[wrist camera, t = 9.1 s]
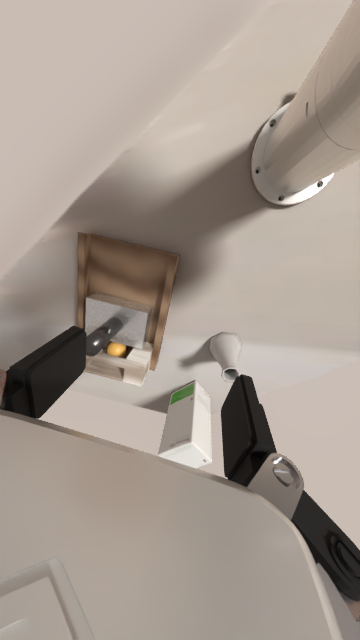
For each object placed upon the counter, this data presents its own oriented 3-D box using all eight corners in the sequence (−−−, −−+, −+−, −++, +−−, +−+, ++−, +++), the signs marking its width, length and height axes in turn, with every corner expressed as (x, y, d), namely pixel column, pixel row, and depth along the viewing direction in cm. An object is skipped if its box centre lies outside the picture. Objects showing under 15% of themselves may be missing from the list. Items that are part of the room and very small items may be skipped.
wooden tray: (89, 233, 36) (49, 229, 27) (179, 255, 36) (171, 259, 26) (86, 343, 46) (56, 368, 37) (157, 361, 46) (145, 392, 36)
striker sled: (97, 292, 39) (49, 313, 27) (153, 306, 39) (130, 334, 27) (95, 326, 42) (52, 359, 30) (147, 340, 42) (124, 378, 30)
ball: (105, 360, 42) (113, 345, 44) (122, 364, 41) (129, 349, 44) (102, 349, 39) (111, 335, 41) (121, 354, 39) (128, 339, 41)
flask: (211, 362, 44) (213, 393, 35) (205, 334, 41) (206, 360, 32) (243, 358, 42) (254, 389, 33) (239, 329, 40) (250, 354, 31)
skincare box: (196, 379, 46) (192, 440, 32) (211, 397, 48) (214, 463, 33) (170, 393, 49) (155, 455, 34) (185, 410, 50) (177, 476, 36)
